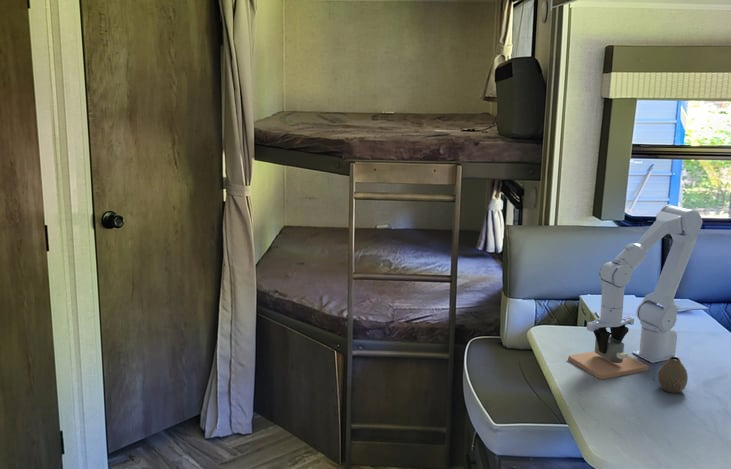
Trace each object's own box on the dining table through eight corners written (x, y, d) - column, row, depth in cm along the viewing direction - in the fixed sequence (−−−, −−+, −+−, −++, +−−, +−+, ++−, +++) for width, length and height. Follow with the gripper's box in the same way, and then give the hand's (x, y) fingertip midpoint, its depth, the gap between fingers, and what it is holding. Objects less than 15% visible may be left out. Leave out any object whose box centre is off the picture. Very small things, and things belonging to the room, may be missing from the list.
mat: (613, 351, 194) (613, 347, 194) (648, 370, 181) (648, 366, 181) (568, 359, 189) (568, 355, 189) (600, 379, 176) (601, 375, 176)
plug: (602, 349, 190) (603, 332, 188) (628, 363, 180) (630, 346, 178) (591, 350, 188) (593, 334, 187) (618, 365, 178) (619, 348, 177)
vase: (674, 398, 166) (677, 366, 164) (651, 387, 172) (654, 356, 170) (692, 392, 169) (695, 360, 167) (669, 381, 175) (672, 350, 173)
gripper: (623, 297, 187) (619, 342, 190) (580, 304, 182) (578, 349, 186) (641, 305, 181) (637, 351, 184) (597, 312, 176) (594, 359, 179)
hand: (608, 351), depth 184 cm, fingers closed on plug, 4 cm apart
